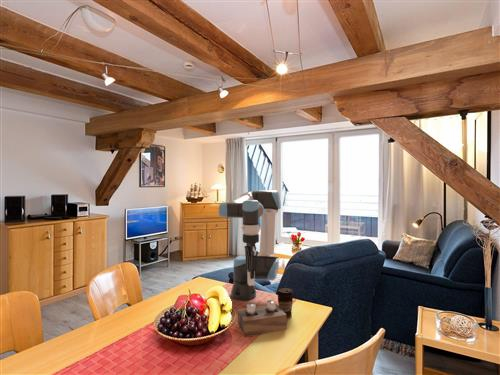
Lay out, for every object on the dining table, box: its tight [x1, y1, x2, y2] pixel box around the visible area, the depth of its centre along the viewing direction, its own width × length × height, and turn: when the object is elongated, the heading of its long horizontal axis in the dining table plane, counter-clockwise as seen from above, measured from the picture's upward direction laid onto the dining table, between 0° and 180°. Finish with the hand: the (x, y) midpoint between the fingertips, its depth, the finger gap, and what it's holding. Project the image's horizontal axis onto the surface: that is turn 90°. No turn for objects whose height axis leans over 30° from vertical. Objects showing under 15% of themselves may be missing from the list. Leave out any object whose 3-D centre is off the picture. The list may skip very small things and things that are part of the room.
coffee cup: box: [276, 287, 295, 319], centre depth 141 cm, size 9×8×13 cm
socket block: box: [237, 303, 288, 338], centre depth 130 cm, size 12×20×7 cm, turn 107°
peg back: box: [266, 299, 277, 313], centre depth 131 cm, size 4×4×6 cm
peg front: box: [246, 302, 257, 317], centre depth 128 cm, size 4×4×6 cm
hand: (251, 284), depth 128 cm, fingers closed
